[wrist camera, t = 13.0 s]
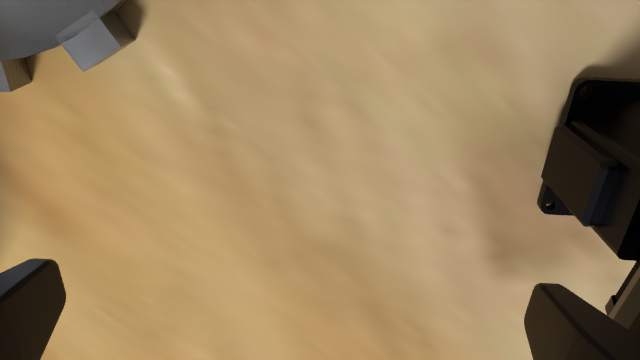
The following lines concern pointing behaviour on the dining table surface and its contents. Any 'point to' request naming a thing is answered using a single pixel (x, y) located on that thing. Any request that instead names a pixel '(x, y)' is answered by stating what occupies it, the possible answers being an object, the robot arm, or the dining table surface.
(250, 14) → the dining table surface
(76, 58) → the sprocket plate
